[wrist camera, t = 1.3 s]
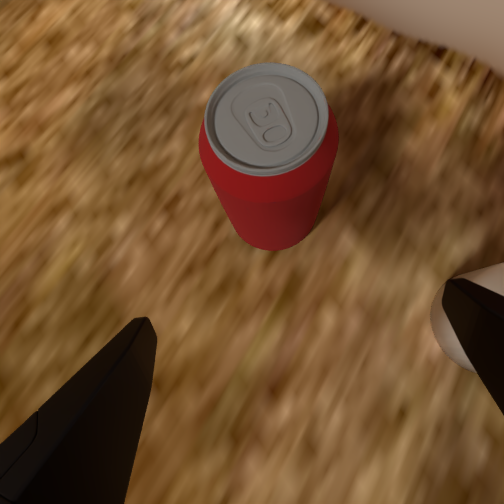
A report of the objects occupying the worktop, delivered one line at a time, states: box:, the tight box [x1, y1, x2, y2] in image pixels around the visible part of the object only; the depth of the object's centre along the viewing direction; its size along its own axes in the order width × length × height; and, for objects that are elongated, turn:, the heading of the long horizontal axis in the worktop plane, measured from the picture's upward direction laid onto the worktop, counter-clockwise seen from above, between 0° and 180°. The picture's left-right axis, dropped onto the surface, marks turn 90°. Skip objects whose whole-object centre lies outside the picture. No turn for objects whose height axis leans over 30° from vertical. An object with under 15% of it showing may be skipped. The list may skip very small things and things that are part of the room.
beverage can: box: [199, 63, 339, 251], centre depth 19 cm, size 7×7×12 cm
